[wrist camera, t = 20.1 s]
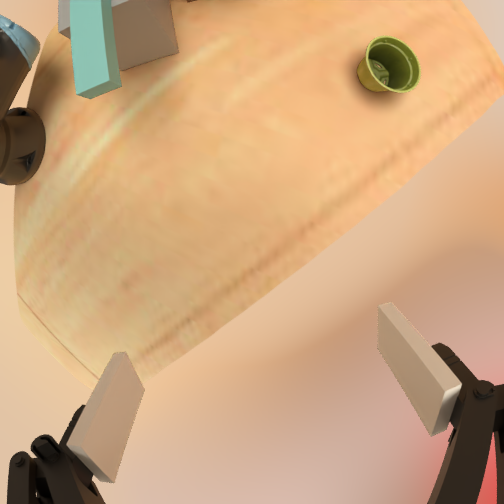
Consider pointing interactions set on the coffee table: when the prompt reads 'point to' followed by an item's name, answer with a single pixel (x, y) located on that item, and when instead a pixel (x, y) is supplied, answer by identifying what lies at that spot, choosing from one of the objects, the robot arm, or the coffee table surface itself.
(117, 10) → the grey block
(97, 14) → the teal bar
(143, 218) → the coffee table surface
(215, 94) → the coffee table surface
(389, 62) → the plant pot
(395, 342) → the robot arm
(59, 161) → the coffee table surface
